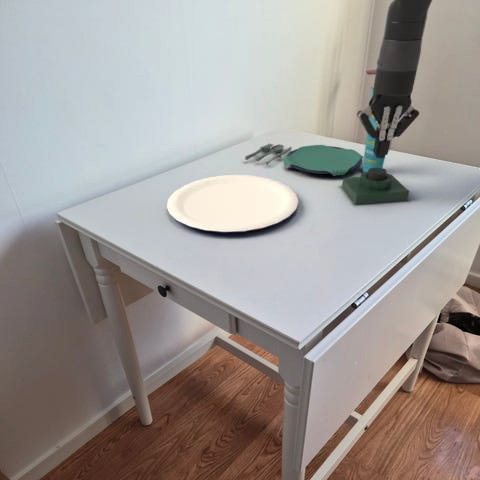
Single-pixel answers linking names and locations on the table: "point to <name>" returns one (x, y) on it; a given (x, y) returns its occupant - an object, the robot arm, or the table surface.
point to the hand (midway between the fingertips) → (379, 156)
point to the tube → (371, 149)
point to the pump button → (376, 174)
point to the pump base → (374, 189)
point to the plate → (232, 203)
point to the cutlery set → (315, 158)
